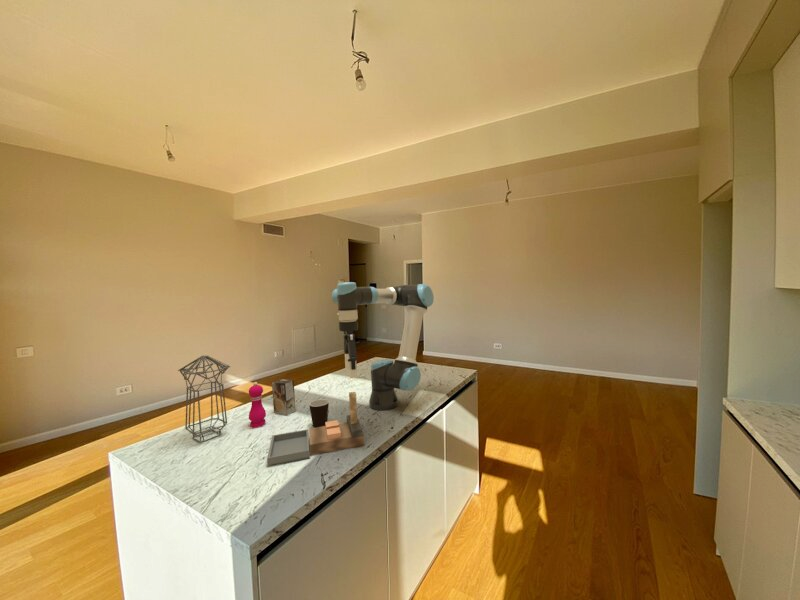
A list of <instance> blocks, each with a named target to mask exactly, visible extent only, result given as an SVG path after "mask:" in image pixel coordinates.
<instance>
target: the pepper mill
mask: <svg viewBox="0 0 800 600" xmlns="http://www.w3.org/2000/svg"><path fill="white" fill-rule="evenodd" d="M263 393H264V388H263V386H262V385H260V384H259V383H258V382H257V381H254V382H253V384H252V385H251V386H250V387H249V389H248V395H249V396H250V401H251V406H250V410H249V412H248V413H249V414H248V420H249V421H250V422H249V423H250V424H249V425H250V428H252V429H253V428H254V429H255V428H261V427H263V426H264V425H265V424H266V419H265V418H266V416H267V413H266V410H265V407H264V405H263V402H262V399H263V395H262V394H263Z"/></svg>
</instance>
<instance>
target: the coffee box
mask: <svg viewBox="0 0 800 600" xmlns="http://www.w3.org/2000/svg"><path fill="white" fill-rule="evenodd" d="M294 381H295V380H294V379H287V378H286V379H285V378H279V379H276V380H274V381H272V382H271V389H272V406H273V414H274V413H275V414H276V415H284V416H289V415H291V414H292V413H294V412H296V411H297V408H296V395H295V382H294Z"/></svg>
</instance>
